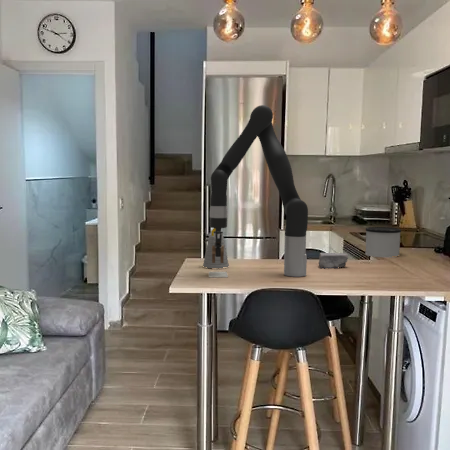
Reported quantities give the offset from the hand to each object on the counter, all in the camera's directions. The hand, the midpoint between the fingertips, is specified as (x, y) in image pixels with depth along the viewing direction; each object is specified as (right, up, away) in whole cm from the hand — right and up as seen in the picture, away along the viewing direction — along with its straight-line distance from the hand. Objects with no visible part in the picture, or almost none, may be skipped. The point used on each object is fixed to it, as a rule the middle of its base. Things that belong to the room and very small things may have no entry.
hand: (217, 255), depth 206 cm
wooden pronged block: (0, -3, 0) cm, 3 cm away
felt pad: (0, -8, +1) cm, 9 cm away
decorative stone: (+54, -7, +23) cm, 59 cm away
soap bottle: (-1, -7, +21) cm, 22 cm away
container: (+92, -4, +63) cm, 112 cm away
